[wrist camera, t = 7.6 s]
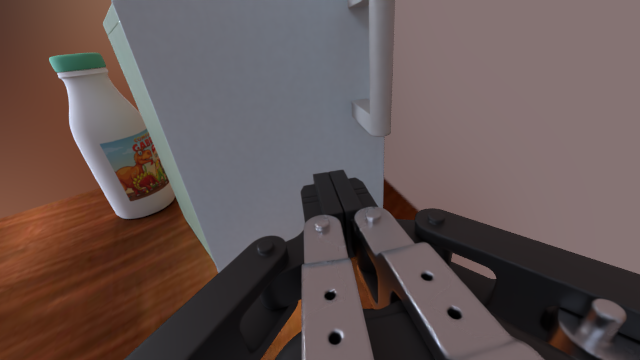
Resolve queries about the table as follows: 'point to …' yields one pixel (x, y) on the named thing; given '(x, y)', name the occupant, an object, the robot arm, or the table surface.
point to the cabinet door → (264, 103)
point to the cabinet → (151, 119)
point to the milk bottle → (113, 138)
